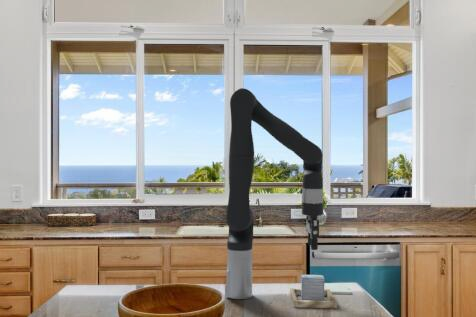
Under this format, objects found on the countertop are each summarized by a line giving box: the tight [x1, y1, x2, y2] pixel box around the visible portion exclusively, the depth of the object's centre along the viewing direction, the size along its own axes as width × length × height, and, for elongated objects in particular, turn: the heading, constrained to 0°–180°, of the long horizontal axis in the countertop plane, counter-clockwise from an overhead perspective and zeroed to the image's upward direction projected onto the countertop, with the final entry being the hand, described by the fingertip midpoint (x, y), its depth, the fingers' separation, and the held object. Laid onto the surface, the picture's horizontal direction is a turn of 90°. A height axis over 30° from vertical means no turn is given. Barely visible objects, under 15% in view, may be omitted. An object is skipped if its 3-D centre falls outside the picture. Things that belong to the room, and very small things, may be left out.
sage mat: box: [324, 282, 352, 295], centre depth 160 cm, size 11×11×1 cm
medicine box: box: [300, 274, 325, 301], centre depth 147 cm, size 8×4×9 cm, turn 84°
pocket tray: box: [289, 288, 338, 309], centre depth 147 cm, size 14×14×2 cm
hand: (312, 247), depth 147 cm, fingers open, 8 cm apart
